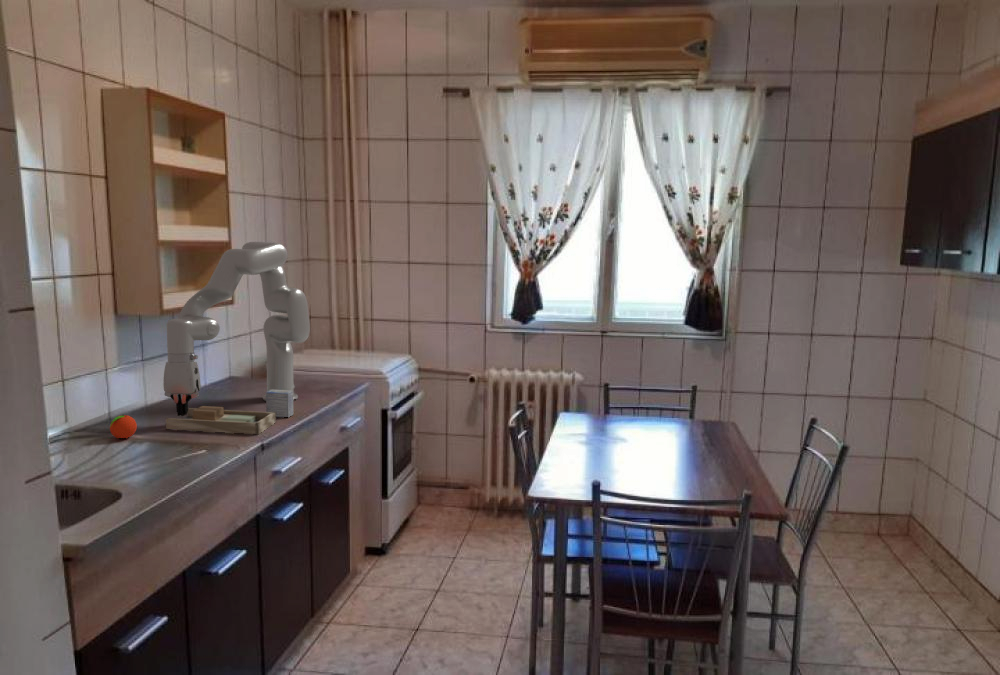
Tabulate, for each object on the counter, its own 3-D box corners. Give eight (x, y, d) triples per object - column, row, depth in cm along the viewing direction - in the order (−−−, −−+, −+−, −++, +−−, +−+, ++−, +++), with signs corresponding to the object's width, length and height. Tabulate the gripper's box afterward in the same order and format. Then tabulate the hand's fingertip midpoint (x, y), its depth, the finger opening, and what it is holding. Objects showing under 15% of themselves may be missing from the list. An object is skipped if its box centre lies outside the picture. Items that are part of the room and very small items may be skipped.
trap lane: (189, 418, 221) (188, 408, 220) (275, 422, 220) (275, 412, 219) (166, 429, 207) (165, 418, 207) (258, 434, 206) (258, 423, 205)
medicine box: (293, 415, 231) (293, 390, 229) (288, 418, 226) (288, 393, 225) (271, 413, 231) (271, 389, 230) (265, 416, 227) (265, 391, 226)
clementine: (120, 444, 192) (119, 419, 191) (101, 441, 194) (100, 417, 193) (142, 436, 199) (141, 413, 198) (124, 434, 201) (123, 411, 200)
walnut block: (202, 415, 216) (202, 406, 216) (223, 416, 216) (223, 407, 216) (192, 419, 210) (192, 410, 210) (214, 420, 210) (214, 411, 210)
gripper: (209, 357, 214) (211, 413, 217) (164, 355, 215) (165, 410, 218) (198, 361, 207) (199, 419, 209) (151, 358, 208) (152, 416, 210)
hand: (182, 414), depth 214 cm, fingers closed
